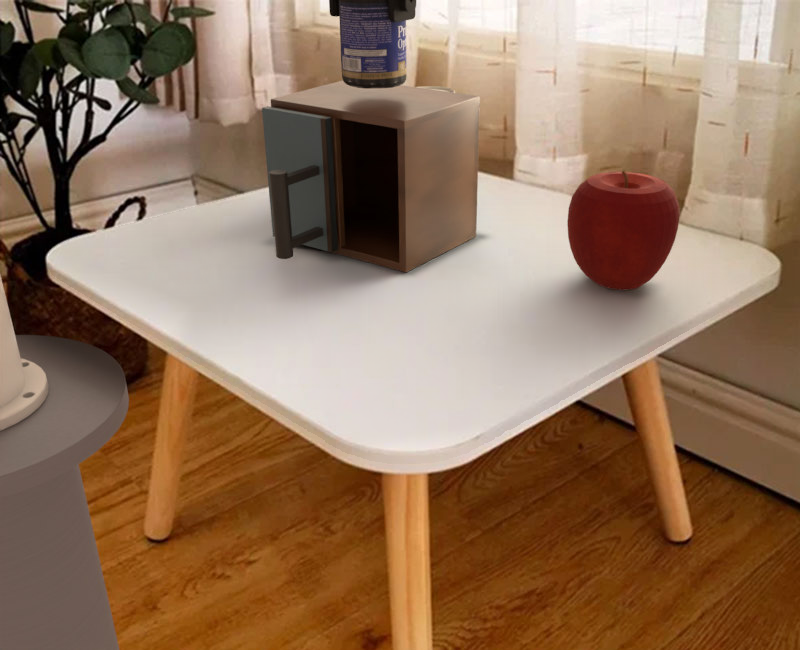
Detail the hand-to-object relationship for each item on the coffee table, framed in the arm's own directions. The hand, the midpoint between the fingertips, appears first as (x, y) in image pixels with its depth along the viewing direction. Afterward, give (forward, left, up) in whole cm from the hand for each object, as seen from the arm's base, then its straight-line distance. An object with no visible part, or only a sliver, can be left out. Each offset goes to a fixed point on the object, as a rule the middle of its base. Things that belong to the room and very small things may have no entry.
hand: (372, 15), depth 86 cm
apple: (+3, -25, -21) cm, 33 cm away
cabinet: (0, 0, -21) cm, 21 cm away
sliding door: (-10, +4, -21) cm, 23 cm away
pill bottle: (0, 0, -6) cm, 6 cm away
